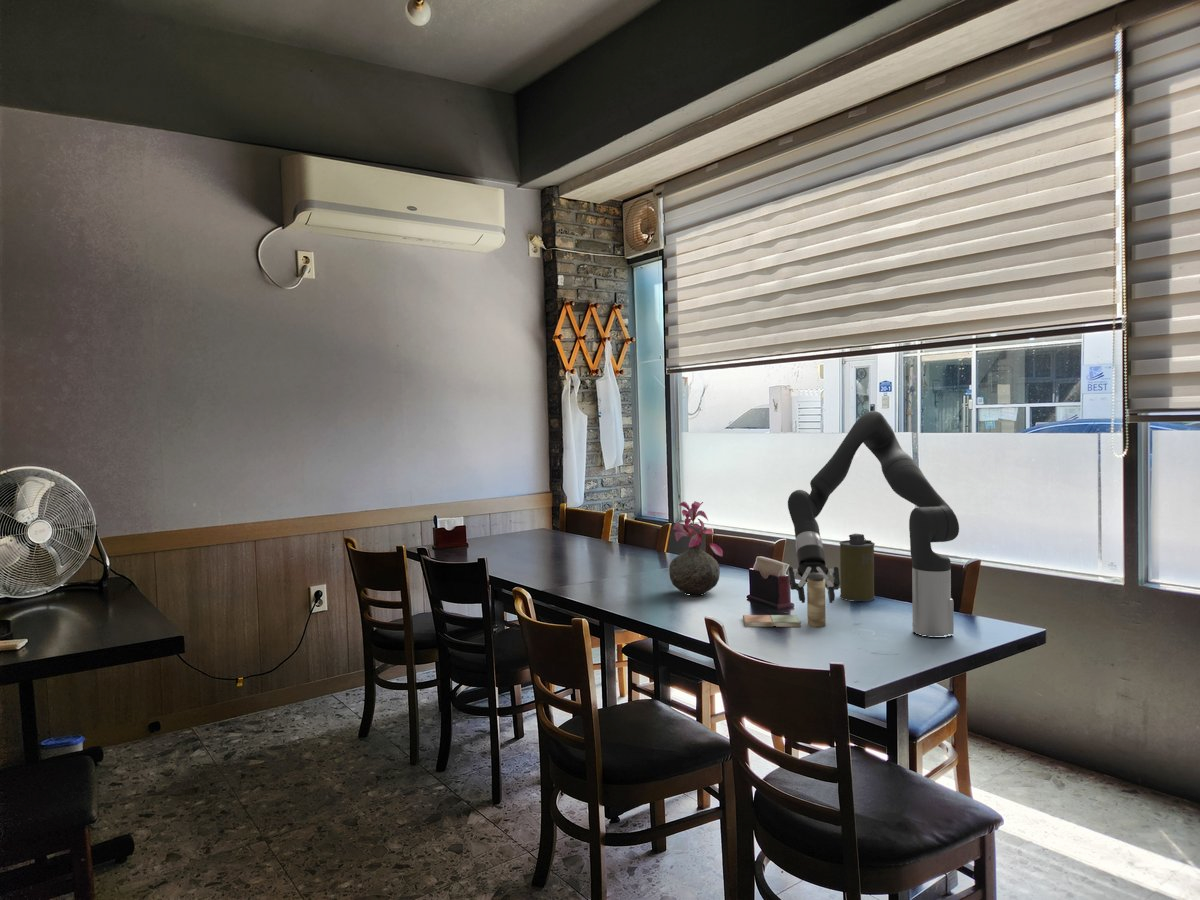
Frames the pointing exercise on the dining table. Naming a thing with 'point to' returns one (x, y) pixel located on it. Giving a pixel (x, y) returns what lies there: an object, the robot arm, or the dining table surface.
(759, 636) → the dining table surface
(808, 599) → the pepper mill
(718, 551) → the vase
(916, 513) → the robot arm
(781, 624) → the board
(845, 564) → the canister
